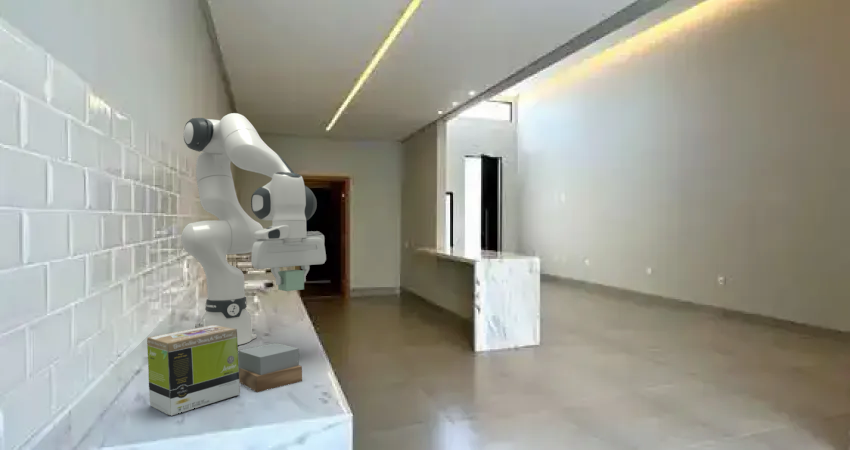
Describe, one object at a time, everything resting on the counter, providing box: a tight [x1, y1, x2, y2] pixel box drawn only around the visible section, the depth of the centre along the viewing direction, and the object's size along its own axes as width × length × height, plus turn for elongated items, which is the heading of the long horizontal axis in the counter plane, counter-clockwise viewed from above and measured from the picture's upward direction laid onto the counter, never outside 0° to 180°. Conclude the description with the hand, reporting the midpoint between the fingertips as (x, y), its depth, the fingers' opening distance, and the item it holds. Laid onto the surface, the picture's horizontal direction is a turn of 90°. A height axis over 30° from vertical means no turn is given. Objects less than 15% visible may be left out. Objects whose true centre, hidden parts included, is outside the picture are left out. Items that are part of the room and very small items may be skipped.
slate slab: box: [238, 342, 300, 375], centre depth 119 cm, size 10×10×4 cm
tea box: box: [146, 325, 241, 417], centre depth 106 cm, size 15×10×15 cm, turn 141°
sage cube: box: [277, 269, 305, 292], centre depth 135 cm, size 5×5×5 cm
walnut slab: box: [239, 364, 303, 393], centre depth 119 cm, size 11×11×4 cm
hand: (290, 283), depth 135 cm, fingers closed on sage cube, 5 cm apart
